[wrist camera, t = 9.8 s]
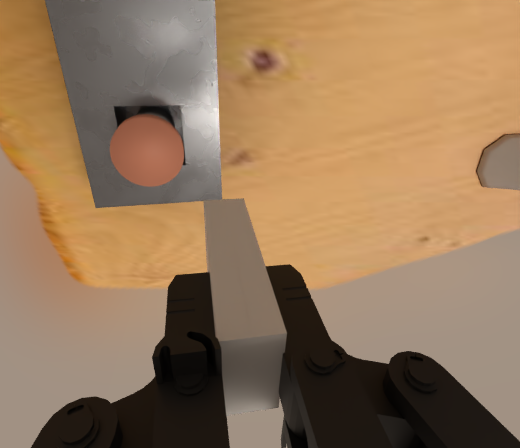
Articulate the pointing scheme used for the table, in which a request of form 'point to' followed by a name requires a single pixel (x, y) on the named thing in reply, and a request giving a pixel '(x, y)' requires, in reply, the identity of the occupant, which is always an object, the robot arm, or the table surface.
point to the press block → (142, 88)
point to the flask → (501, 164)
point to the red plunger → (147, 148)
